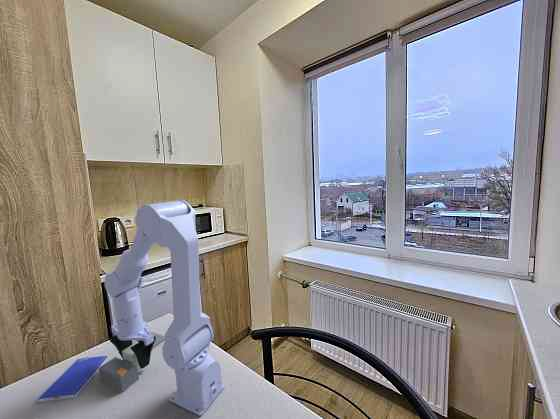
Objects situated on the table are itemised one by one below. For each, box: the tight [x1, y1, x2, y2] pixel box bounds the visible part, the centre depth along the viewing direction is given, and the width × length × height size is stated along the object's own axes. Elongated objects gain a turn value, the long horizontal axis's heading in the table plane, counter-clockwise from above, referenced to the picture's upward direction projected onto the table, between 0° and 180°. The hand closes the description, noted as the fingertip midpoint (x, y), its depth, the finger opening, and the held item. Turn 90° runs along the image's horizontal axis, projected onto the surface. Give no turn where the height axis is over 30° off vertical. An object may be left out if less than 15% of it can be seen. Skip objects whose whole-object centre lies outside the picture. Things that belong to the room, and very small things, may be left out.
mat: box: [132, 331, 165, 350], centre depth 74 cm, size 8×8×1 cm
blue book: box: [37, 355, 109, 403], centre depth 62 cm, size 2×8×12 cm
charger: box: [122, 341, 143, 373], centre depth 63 cm, size 4×6×6 cm
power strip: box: [98, 356, 140, 393], centre depth 60 cm, size 9×4×4 cm, turn 64°
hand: (136, 362), depth 64 cm, fingers open, 7 cm apart
